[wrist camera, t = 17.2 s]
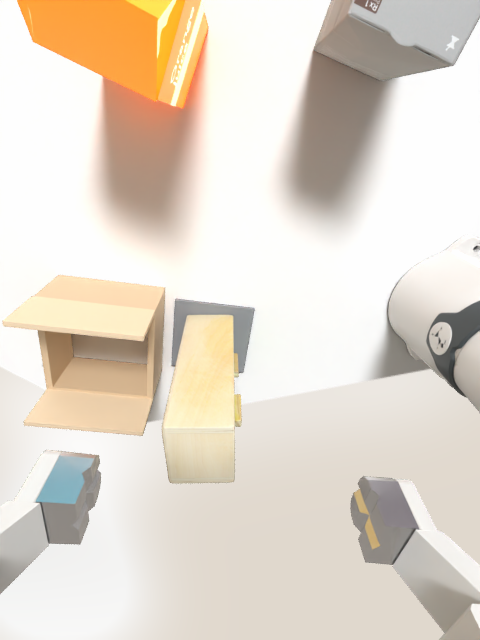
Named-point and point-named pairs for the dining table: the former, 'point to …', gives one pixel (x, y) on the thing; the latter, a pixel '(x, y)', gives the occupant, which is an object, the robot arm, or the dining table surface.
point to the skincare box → (397, 34)
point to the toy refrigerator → (203, 404)
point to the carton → (92, 374)
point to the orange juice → (125, 40)
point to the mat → (240, 314)
